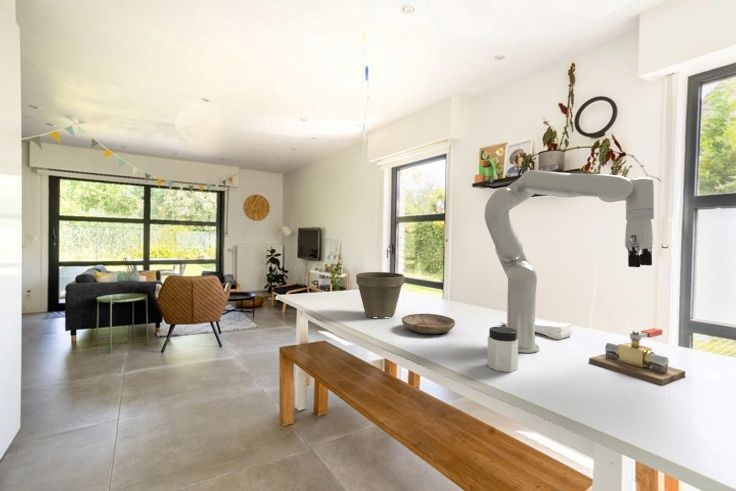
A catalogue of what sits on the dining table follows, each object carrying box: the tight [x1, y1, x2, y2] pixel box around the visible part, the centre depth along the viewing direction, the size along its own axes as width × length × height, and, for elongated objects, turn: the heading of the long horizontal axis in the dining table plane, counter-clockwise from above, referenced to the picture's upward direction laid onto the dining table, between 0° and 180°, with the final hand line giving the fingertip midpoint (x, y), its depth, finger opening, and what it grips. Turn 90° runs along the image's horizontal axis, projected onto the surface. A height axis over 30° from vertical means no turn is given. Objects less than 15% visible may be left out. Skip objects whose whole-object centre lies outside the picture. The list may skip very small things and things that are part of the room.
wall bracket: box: [500, 320, 573, 340], centre depth 157 cm, size 10×7×28 cm
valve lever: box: [629, 327, 663, 341], centre depth 115 cm, size 15×3×2 cm, turn 118°
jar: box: [486, 326, 519, 373], centre depth 112 cm, size 9×8×12 cm
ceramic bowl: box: [401, 313, 456, 335], centre depth 157 cm, size 23×24×5 cm
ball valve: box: [604, 339, 669, 374], centre depth 112 cm, size 5×16×8 cm, turn 28°
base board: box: [588, 353, 686, 386], centre depth 112 cm, size 14×20×2 cm
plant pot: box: [355, 271, 405, 318], centre depth 185 cm, size 25×25×22 cm
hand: (640, 266), depth 121 cm, fingers open, 9 cm apart
